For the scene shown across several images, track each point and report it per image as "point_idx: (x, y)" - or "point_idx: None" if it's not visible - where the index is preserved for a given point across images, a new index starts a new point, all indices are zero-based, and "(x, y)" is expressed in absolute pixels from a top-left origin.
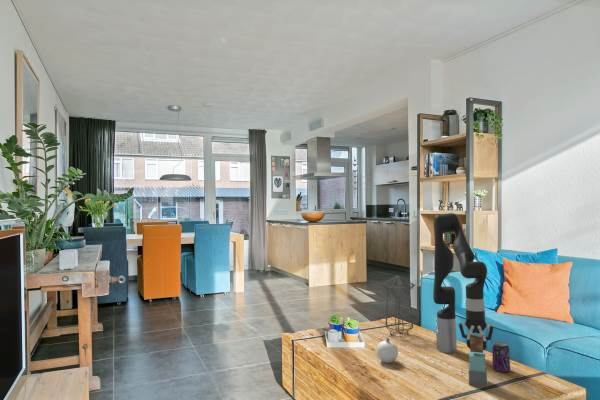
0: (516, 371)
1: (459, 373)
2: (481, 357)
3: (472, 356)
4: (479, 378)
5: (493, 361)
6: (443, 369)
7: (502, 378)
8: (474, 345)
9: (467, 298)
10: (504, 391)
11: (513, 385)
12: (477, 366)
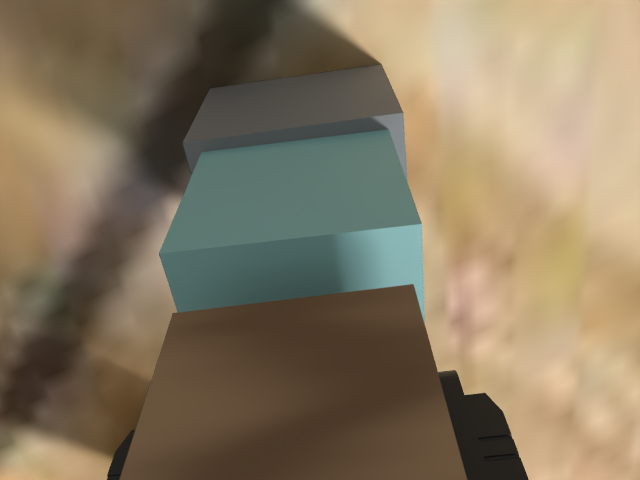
0: (98, 465)
1: (482, 284)
2: (214, 244)
3: (365, 227)
4: (276, 103)
5: None
6: (616, 308)
7: (145, 325)
8: (335, 400)
9: None
10: (40, 53)
11: (25, 229)
12: (291, 167)
